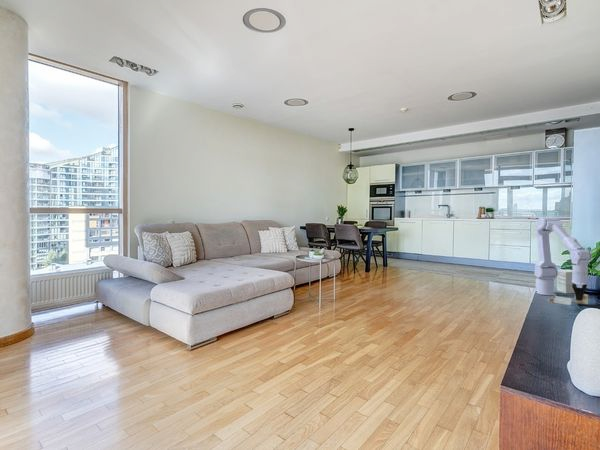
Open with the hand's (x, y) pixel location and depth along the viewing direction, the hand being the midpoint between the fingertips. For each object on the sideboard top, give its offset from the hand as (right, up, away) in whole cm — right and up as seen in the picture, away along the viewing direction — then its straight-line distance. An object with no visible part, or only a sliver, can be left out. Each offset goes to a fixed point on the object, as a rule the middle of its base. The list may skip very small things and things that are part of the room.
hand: (579, 299), depth 157 cm
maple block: (+1, -2, 0) cm, 2 cm away
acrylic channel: (-5, -3, +4) cm, 7 cm away
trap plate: (-8, -3, +8) cm, 11 cm away
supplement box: (+16, -2, +25) cm, 29 cm away
